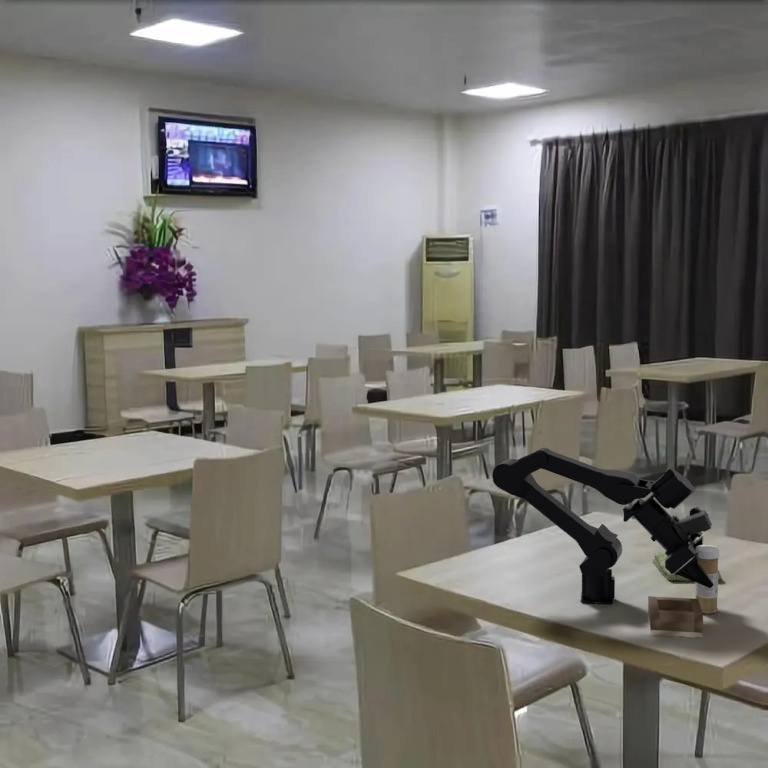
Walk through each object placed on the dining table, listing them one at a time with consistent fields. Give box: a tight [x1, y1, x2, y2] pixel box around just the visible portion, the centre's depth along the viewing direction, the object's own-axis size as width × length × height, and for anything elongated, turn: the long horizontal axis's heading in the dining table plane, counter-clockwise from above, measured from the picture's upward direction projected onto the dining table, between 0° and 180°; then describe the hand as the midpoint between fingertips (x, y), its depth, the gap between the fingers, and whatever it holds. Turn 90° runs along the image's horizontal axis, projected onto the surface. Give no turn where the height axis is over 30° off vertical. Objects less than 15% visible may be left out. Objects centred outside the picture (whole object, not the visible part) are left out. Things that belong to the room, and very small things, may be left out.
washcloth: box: [652, 551, 722, 582], centre depth 229 cm, size 13×18×3 cm
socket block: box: [647, 595, 704, 639], centre depth 193 cm, size 10×10×4 cm
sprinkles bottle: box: [694, 544, 720, 615], centre depth 201 cm, size 5×5×14 cm
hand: (713, 579), depth 201 cm, fingers open, 9 cm apart
